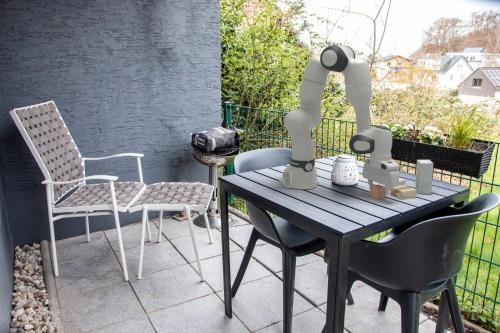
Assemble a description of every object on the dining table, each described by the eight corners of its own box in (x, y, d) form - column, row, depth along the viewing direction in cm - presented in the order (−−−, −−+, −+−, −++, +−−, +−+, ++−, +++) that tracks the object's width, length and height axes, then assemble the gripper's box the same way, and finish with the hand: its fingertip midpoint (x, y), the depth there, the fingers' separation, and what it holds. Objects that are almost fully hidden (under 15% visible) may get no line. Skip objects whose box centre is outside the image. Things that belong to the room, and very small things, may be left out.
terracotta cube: (369, 196, 174) (370, 185, 173) (378, 194, 176) (379, 184, 175) (377, 199, 170) (377, 188, 169) (385, 197, 172) (386, 187, 170)
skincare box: (431, 194, 174) (434, 163, 171) (417, 194, 176) (420, 162, 172) (427, 189, 182) (430, 159, 179) (414, 188, 184) (416, 158, 180)
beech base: (389, 195, 176) (390, 186, 175) (404, 193, 178) (404, 184, 177) (401, 200, 168) (402, 191, 168) (416, 198, 171) (417, 189, 170)
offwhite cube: (389, 189, 184) (390, 179, 182) (395, 187, 187) (396, 177, 185) (398, 191, 180) (399, 181, 179) (404, 189, 183) (405, 179, 182)
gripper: (359, 158, 177) (358, 186, 180) (390, 167, 158) (389, 199, 162) (370, 157, 179) (369, 185, 182) (402, 166, 161) (400, 197, 164)
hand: (378, 191), depth 172 cm, fingers open, 8 cm apart
